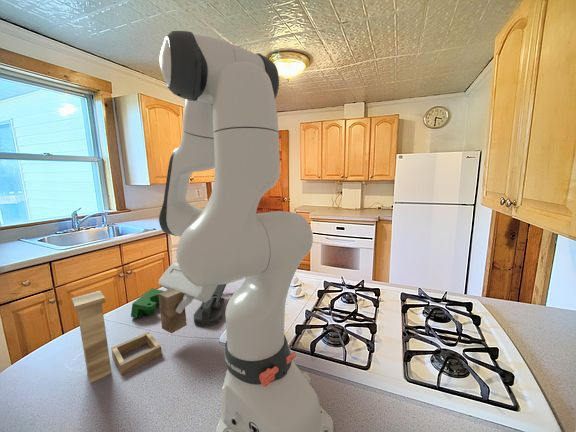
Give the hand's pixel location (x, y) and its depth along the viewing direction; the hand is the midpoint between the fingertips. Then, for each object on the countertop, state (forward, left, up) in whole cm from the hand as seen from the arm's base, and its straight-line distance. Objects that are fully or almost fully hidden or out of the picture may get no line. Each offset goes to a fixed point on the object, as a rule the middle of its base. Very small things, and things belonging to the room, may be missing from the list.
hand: (170, 309), depth 67 cm
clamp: (+24, -2, -11) cm, 27 cm away
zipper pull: (+11, -19, -11) cm, 24 cm away
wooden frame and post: (+3, +11, -11) cm, 16 cm away
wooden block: (0, -1, -5) cm, 5 cm away
